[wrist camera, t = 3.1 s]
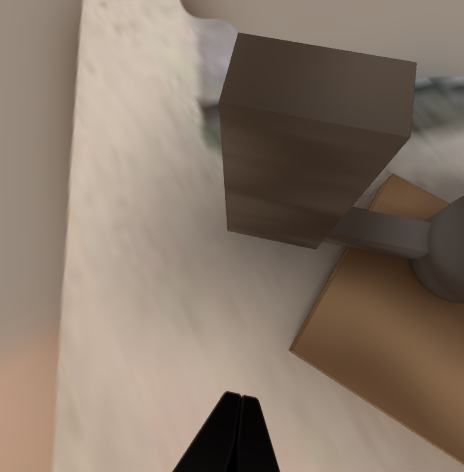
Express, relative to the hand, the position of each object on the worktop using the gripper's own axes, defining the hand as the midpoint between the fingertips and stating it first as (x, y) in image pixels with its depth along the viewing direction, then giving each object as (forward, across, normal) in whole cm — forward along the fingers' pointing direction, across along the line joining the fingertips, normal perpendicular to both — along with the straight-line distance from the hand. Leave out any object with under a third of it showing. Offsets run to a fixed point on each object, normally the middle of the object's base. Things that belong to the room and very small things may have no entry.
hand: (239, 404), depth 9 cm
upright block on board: (+12, -8, +1) cm, 15 cm away
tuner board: (+11, -11, +4) cm, 16 cm away
